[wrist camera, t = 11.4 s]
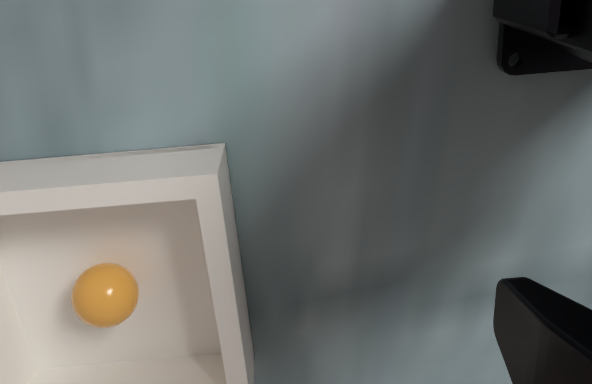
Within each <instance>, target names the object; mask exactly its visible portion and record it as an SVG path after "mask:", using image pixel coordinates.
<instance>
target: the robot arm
mask: <svg viewBox="0 0 592 384" xmlns="http://www.w3.org/2000/svg"><path fill="white" fill-rule="evenodd" d="M493 16H494V17H495V18H496V19H497V20H498V21H499V22H500V23H499V37H498V50H497V65H498V67H499V68H500V70H502V71H503V72H505V73H507V74H509V75H524V74H536V73H547V72H559V71H571V70H583V69H592V0H494V6H493ZM515 53H517V54H518V57H519V58H518V61H517V63H516V64H515V65H512V66H509V63H508V61H509V58H510V56H511V55H512V54H515ZM493 326H494V333H495V337H496V340H497V342H498V345H499V348H500V351H501V353H502V356H503V359H504V361H505V364H506V367H507V370H508V372H509V375H510V378H511V380H512V383H513V384H592V310H591V309H589V308H587V307H585V306H583V305H581V304H579V303H577V302H575V301H573V300H571V299H569V298H567V297H565V296H563V295H561V294H559V293H557V292H555V291H553V290H551V289H549V288H547V287H545V286H543V285H541V284H539V283H537V282H535V281H533V280H531V279H529V278H527V277H516V278H505V279H501V280H500V281H499V282H498V284H497V288H496V297H495V309H494V320H493Z"/></svg>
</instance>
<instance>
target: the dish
mask: <svg viewBox="0 0 592 384" xmlns="http://www.w3.org/2000/svg"><path fill="white" fill-rule="evenodd" d="M253 377H254V351H253V343H252V336H251V329H250V321H249V314H248V307H247V299H246V292H245V285H244V278H243V270H242V263H241V256H240V248H239V241H238V234H237V226H236V219H235V212H234V205H233V197H232V190H231V183H230V175H229V168H228V161H227V153H226V146H225V143H219V144H207V145H195V146H184V147H172V148H160V149H148V150H136V151H125V152H113V153H101V154H89V155H77V156H65V157H54V158H42V159H30V160H18V161H6V162H0V384H253Z"/></svg>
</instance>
